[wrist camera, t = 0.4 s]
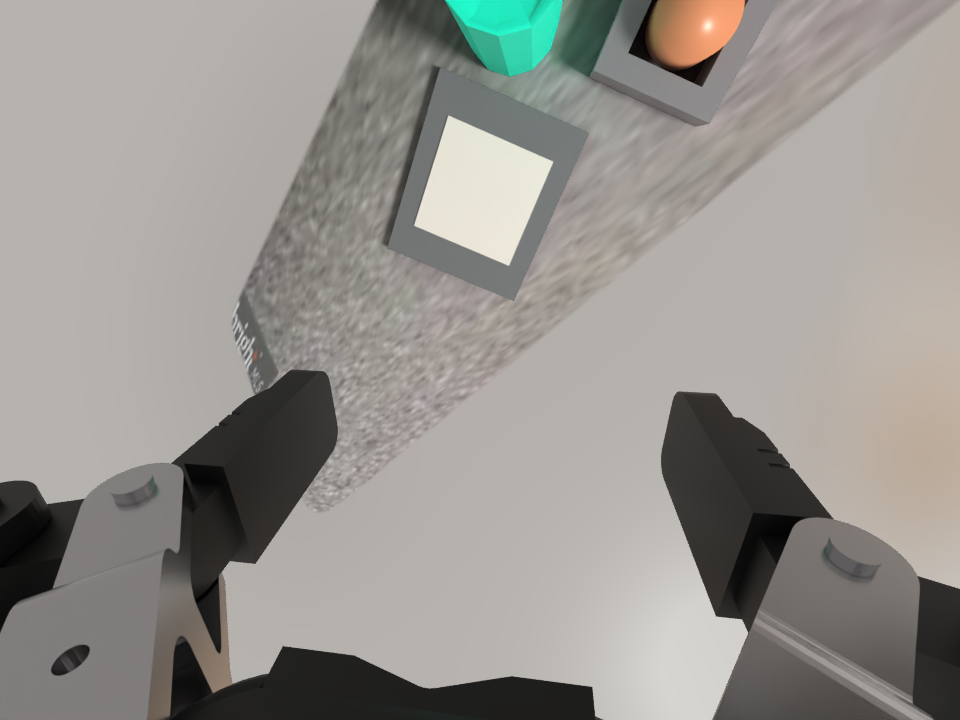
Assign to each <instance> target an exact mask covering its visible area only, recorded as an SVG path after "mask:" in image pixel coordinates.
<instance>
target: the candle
mask: <svg viewBox="0 0 960 720" xmlns="http://www.w3.org/2000/svg"><path fill="white" fill-rule="evenodd" d="M445 1H446V3H447V5H448V7H449V9H450V11H451V12H452V14H453V16H454V18H455V20H456V21H457V23H458V25H459V27H460V29H461V31H462V32H463V34H464V36H465V38H466V40H467V41H468V43H469V45H470V47H471V49H472V50H473V52H474V53H475V54H476V55H477V57H478V58H479V59H480V60H481V62H482V63H483V64H484V65H485V66H486V68H487V69H488V70H491V71H494V72H497V73H500V74H503V75H506V76H509V77H511V76H514V75H517V74H521V73H524V72H527V71H531V70H533V69H534V68H535V67H536V65H537V64H538V63H539V62H540V61H541V60H542V59H543V58H544V57H545V56H546V54H547V53H548V52H549V51H550V50H551V47H552V43H553V40H554V36H555V33H556V30H557V26H558V23H559V18H560V12H561V7H562V1H563V0H445Z"/></svg>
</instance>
